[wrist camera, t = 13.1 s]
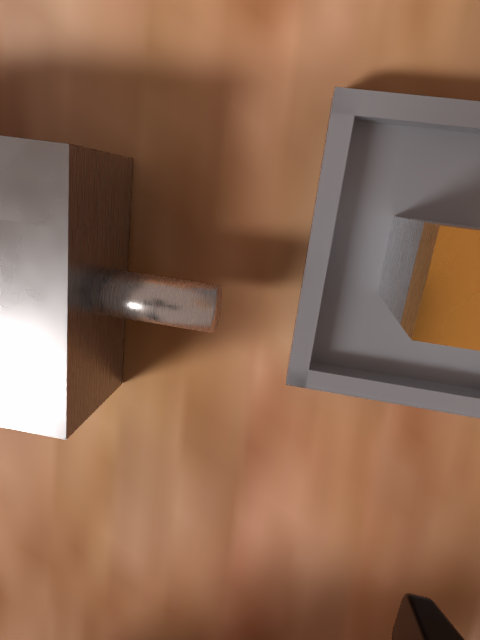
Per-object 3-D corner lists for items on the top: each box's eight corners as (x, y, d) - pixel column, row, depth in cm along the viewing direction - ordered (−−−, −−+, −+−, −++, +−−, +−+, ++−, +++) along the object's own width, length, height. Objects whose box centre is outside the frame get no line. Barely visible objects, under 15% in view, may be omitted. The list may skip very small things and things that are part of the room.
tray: (502, 408, 18) (518, 424, 17) (287, 371, 19) (286, 384, 18) (595, 122, 15) (623, 115, 14) (333, 95, 16) (335, 86, 15)
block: (455, 304, 17) (531, 358, 11) (377, 293, 17) (411, 340, 12) (476, 226, 16) (570, 242, 10) (393, 215, 16) (439, 225, 11)
